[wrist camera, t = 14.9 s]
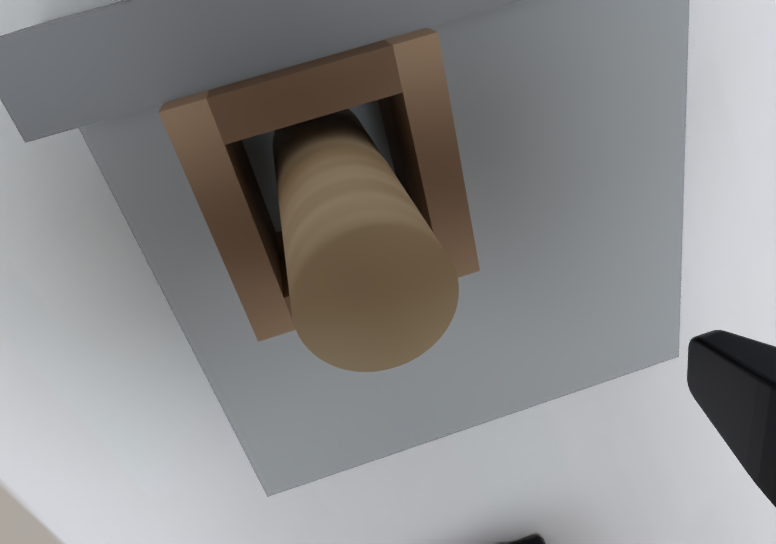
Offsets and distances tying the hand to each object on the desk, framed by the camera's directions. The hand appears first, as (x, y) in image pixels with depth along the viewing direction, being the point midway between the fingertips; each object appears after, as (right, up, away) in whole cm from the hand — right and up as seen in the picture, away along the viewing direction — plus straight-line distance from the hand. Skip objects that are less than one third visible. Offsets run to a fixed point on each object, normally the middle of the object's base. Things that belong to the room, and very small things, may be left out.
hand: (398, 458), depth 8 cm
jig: (+1, +4, +12) cm, 13 cm away
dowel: (-2, +6, +9) cm, 11 cm away
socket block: (-2, +6, +9) cm, 11 cm away
